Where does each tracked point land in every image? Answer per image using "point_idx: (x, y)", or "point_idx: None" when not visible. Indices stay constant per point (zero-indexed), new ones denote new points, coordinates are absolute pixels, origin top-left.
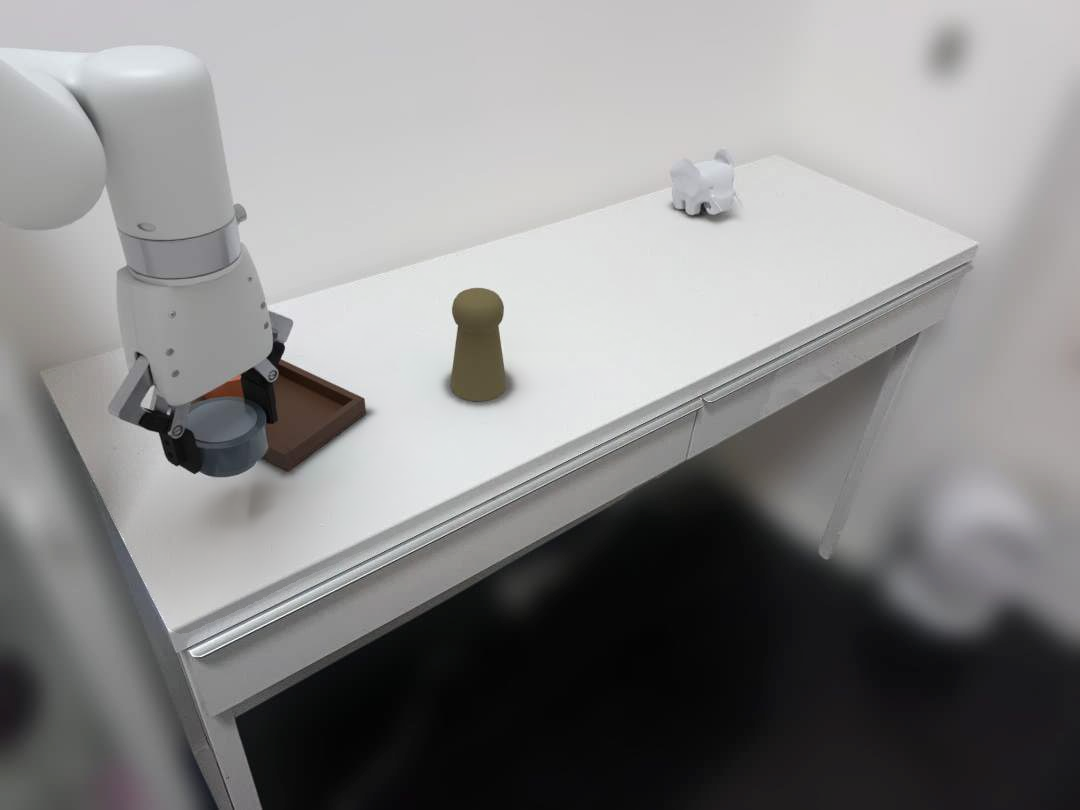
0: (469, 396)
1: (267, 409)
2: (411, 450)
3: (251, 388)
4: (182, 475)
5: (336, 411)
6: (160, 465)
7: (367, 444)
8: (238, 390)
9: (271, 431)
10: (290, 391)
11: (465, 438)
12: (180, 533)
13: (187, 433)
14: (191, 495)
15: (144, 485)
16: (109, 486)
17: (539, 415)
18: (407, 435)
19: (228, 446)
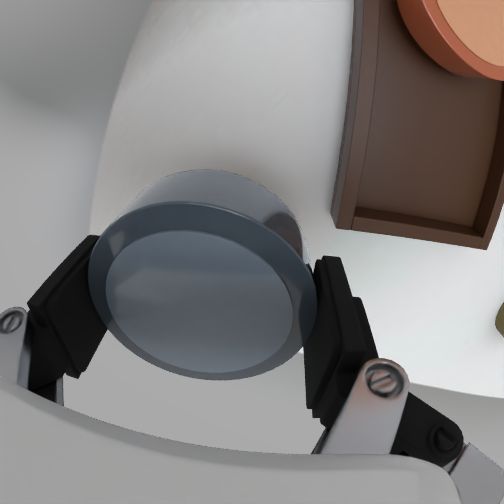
0: (499, 319)
1: (304, 354)
2: (418, 316)
3: (319, 358)
4: (233, 70)
5: (456, 234)
6: (231, 22)
7: (419, 271)
8: (439, 52)
9: (396, 135)
10: (483, 107)
11: (443, 342)
12: (148, 171)
13: (69, 374)
14: (207, 120)
15: (182, 42)
16: (154, 9)
17: (475, 365)
18: (442, 299)
19: (155, 365)
